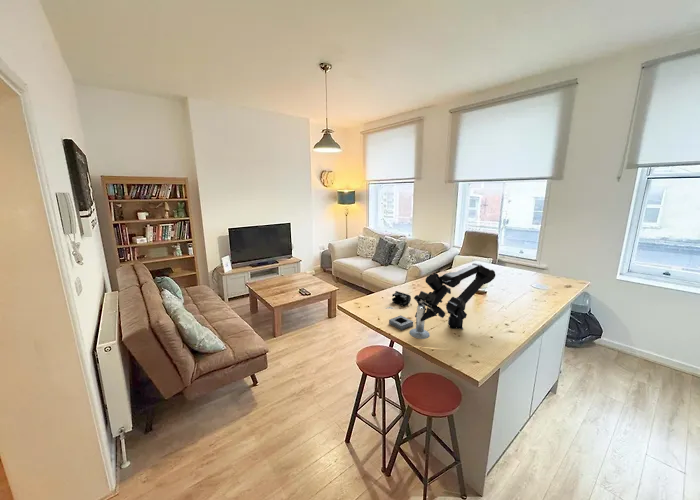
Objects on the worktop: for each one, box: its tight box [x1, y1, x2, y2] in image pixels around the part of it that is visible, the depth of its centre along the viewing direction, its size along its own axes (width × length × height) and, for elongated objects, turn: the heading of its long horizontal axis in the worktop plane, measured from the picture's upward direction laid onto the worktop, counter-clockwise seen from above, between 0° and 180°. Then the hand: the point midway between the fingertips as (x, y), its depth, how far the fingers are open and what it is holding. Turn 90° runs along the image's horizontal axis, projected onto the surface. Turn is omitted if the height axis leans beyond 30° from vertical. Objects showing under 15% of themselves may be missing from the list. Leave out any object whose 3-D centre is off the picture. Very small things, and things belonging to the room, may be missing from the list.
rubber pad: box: [409, 328, 431, 340], centre depth 144 cm, size 10×10×1 cm
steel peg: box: [415, 305, 426, 333], centre depth 142 cm, size 4×4×12 cm
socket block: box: [388, 315, 414, 331], centre depth 152 cm, size 9×9×3 cm
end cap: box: [391, 290, 412, 307], centre depth 182 cm, size 10×7×7 cm
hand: (418, 319), depth 141 cm, fingers closed on steel peg, 4 cm apart
